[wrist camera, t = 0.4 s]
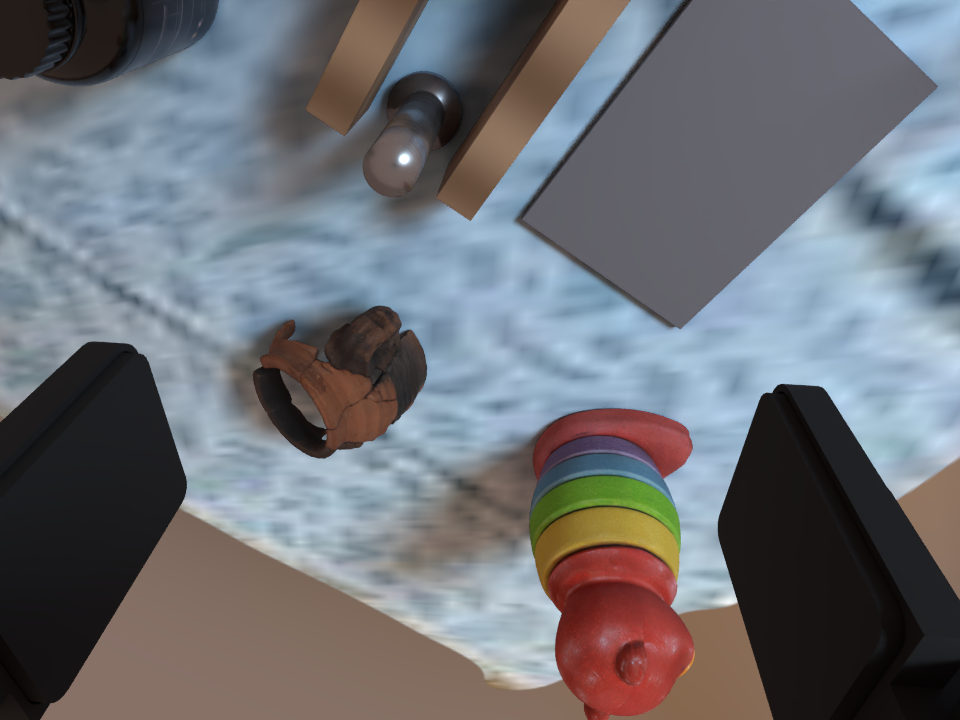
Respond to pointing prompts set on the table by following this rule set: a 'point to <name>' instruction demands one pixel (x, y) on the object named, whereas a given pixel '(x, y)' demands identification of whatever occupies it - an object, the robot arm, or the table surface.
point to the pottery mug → (343, 382)
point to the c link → (509, 115)
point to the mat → (724, 144)
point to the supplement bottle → (95, 36)
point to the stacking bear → (612, 555)
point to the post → (412, 132)
